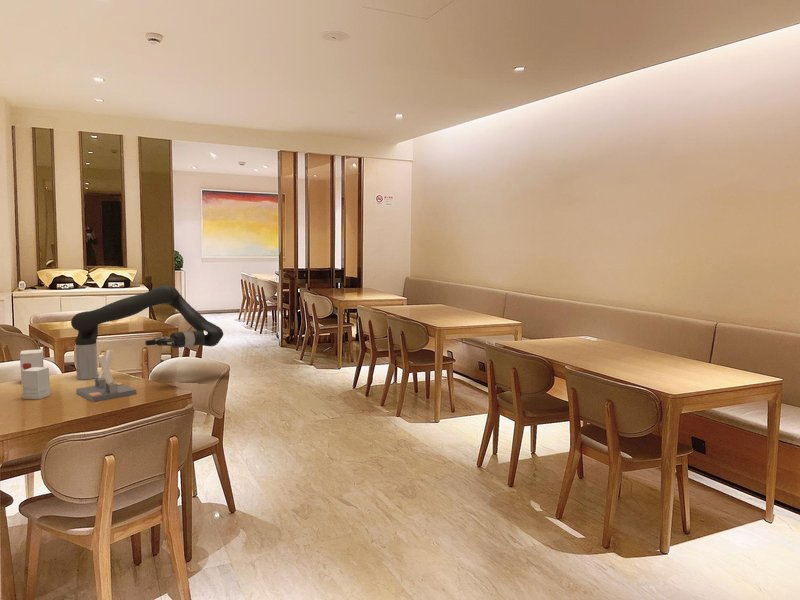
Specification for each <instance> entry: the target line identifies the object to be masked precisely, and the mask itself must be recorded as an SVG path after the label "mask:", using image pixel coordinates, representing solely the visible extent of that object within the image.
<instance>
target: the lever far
mask: <svg viewBox="0 0 800 600" xmlns="http://www.w3.org/2000/svg"><path fill="white" fill-rule="evenodd" d="M114 354H115V351H114V350H111V349H107V350H106V354H105V357H106V360H107V363H108V366H109V367H110V366H111V363H112V360H113V357H114ZM100 379H105V377H104V374H103V371H102V368H100V371H99V373H98V379H97V382H99V380H100Z"/></svg>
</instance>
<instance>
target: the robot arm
mask: <svg viewBox="0 0 800 600" xmlns="http://www.w3.org/2000/svg"><path fill="white" fill-rule="evenodd" d="M164 304H165V305H169V306H171V307H172V308H174V309H175V310H176V311H178V313H180V315H181V316H182V317H183V319H184V320H185V321H186V323H188V324H189V325H190V326H191V327H192V328H193V329H195V330H193V331H188V330H187V331H177V332H172V333H171V334H170V336H168V335H167V336H163V337H161V336H158V337H154V338H153V339H148V340H145V346H159V347H161V346H162V347H163V346H167V347H168V346H169V347H172V348H173V349H180V348H188V347H194V346H205V347H214V346H217V345H218V344H219V343H220V341H221V339H222V338H223V337H224V332H223V330H222V328H221V327H219V325H216V324H214V323H212V322H211V321H208V320H207V319H206V318H205V317H204V316H203V315H202V314H200V313H199V312H198V311H197V310H196V309H195V308H194V307H193V306H192V305H190V303H189V302H187V300H185V298H184V297H183V296H182V294H181V293H180V292H179V291H178V290H177V288H176V287H174V286H172V285H166V284H165V285H161V286H158V287H155V288H153V289H151V290H149V291H147V292H144V293H140V294H136V295H132V296H129V297H125V298H122V299H119V300H116V301H113V302H110V303H109V304H106V305H104V306H102V307H100V308H96V309H94V310H89V311H81V312H78V313H76V314H74V316H73V317H72V318H71V320H70V324H71V327H72V328H73V329H74V330H75V331H78V332H77V336H76V337H75V340H74V344H75V345H74V346H75V365H76V367H75V368H76V372H75V373H76V379H77V380H90V379H95V378H96V377H98V376H99V373H98V372H99V371H98V348H97V340H98V337H99V325H101V324H104V323H108V322H109V323H110V322H114V321H117V320H118V321H119V320H123V319H126V318H129V317H132V316H134V315H137V314H139V313H141V312H143V311H144V310H146V309H148V308H151V307H155V306H157V305H164ZM204 332H206V334H205V333H204Z"/></svg>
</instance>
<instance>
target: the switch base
mask: <svg viewBox="0 0 800 600" xmlns="http://www.w3.org/2000/svg"><path fill="white" fill-rule="evenodd" d="M97 379H98V377H96V378H94V385H92V386H86V387H80V388H76V391H75V392H76V394H77V395H79V396H81V397H82V398H84V399H86V400H89V401H90V402H92V403H93V402H100V401H105V400H111V399H115V398H122V397H127V396H133V394H134V395H137V389H135V388H134V387H131V386H128V385H126V384H124V383H121V382H119V381H118V382H114V384H109V387H108V386H107V382H106V380H105V379H100V380H99V382H97Z"/></svg>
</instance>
